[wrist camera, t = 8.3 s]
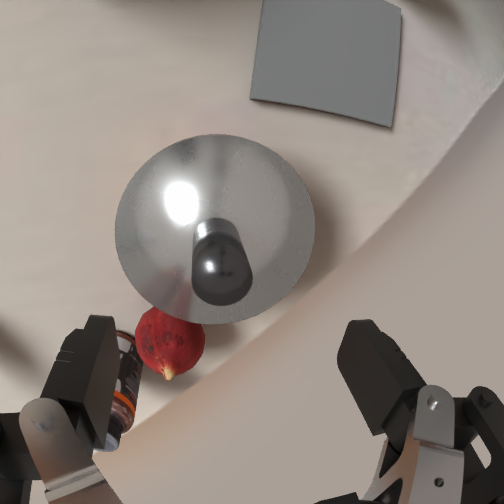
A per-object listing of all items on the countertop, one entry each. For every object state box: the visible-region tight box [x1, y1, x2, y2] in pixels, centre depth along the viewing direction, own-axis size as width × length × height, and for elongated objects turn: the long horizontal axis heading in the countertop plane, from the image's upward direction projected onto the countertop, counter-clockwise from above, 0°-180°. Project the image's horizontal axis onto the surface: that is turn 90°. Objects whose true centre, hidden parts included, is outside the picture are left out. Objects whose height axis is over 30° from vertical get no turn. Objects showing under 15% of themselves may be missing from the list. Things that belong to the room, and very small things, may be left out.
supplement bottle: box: [93, 331, 143, 452], centre depth 23 cm, size 6×6×11 cm
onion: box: [135, 307, 205, 381], centre depth 24 cm, size 6×6×8 cm
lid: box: [115, 134, 315, 324], centre depth 17 cm, size 12×12×6 cm
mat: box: [250, 0, 401, 127], centre depth 20 cm, size 12×12×1 cm
